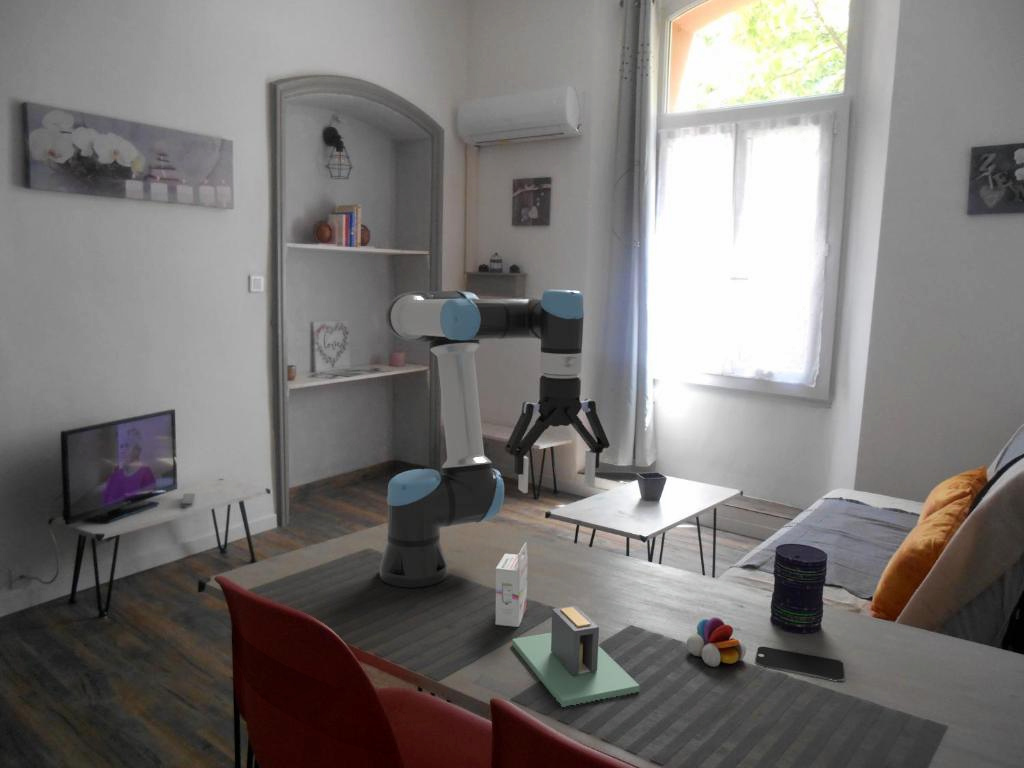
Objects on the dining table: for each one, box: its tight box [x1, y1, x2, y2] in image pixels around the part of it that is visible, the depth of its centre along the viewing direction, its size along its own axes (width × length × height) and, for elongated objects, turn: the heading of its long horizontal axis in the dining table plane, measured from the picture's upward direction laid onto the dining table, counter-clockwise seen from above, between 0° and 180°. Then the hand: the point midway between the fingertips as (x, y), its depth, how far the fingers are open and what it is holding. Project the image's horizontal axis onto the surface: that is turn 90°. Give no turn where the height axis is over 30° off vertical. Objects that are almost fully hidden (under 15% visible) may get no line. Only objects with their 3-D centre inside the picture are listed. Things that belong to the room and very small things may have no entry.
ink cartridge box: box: [494, 541, 529, 628], centre depth 155 cm, size 9×5×15 cm, turn 168°
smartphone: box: [754, 646, 846, 682], centre depth 141 cm, size 8×1×15 cm
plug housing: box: [551, 605, 600, 676], centre depth 136 cm, size 9×5×8 cm, turn 21°
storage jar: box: [769, 543, 828, 636], centre depth 155 cm, size 10×10×15 cm
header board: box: [511, 632, 640, 708], centre depth 137 cm, size 22×14×6 cm, turn 21°
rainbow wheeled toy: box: [686, 616, 747, 668], centre depth 142 cm, size 8×10×7 cm
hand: (556, 488), depth 146 cm, fingers open, 13 cm apart
